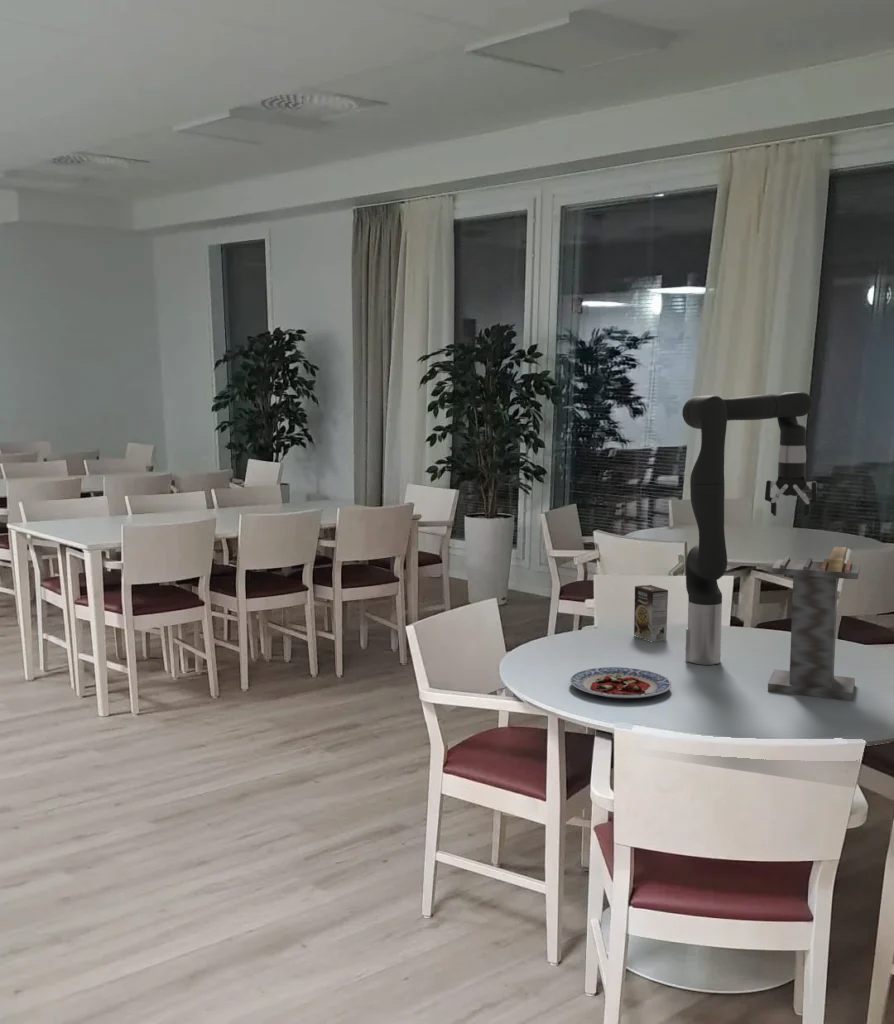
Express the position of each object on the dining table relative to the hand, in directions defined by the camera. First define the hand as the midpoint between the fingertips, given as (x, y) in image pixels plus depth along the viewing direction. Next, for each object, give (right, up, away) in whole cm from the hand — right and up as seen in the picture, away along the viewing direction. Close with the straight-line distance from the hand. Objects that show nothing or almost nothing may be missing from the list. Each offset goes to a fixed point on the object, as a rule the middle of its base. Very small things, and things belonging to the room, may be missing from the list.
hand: (790, 516), depth 279 cm
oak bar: (0, -12, -35) cm, 37 cm away
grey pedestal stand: (-6, -44, -33) cm, 55 cm away
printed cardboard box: (-37, -39, +20) cm, 57 cm away
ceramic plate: (-56, -45, -32) cm, 78 cm away
